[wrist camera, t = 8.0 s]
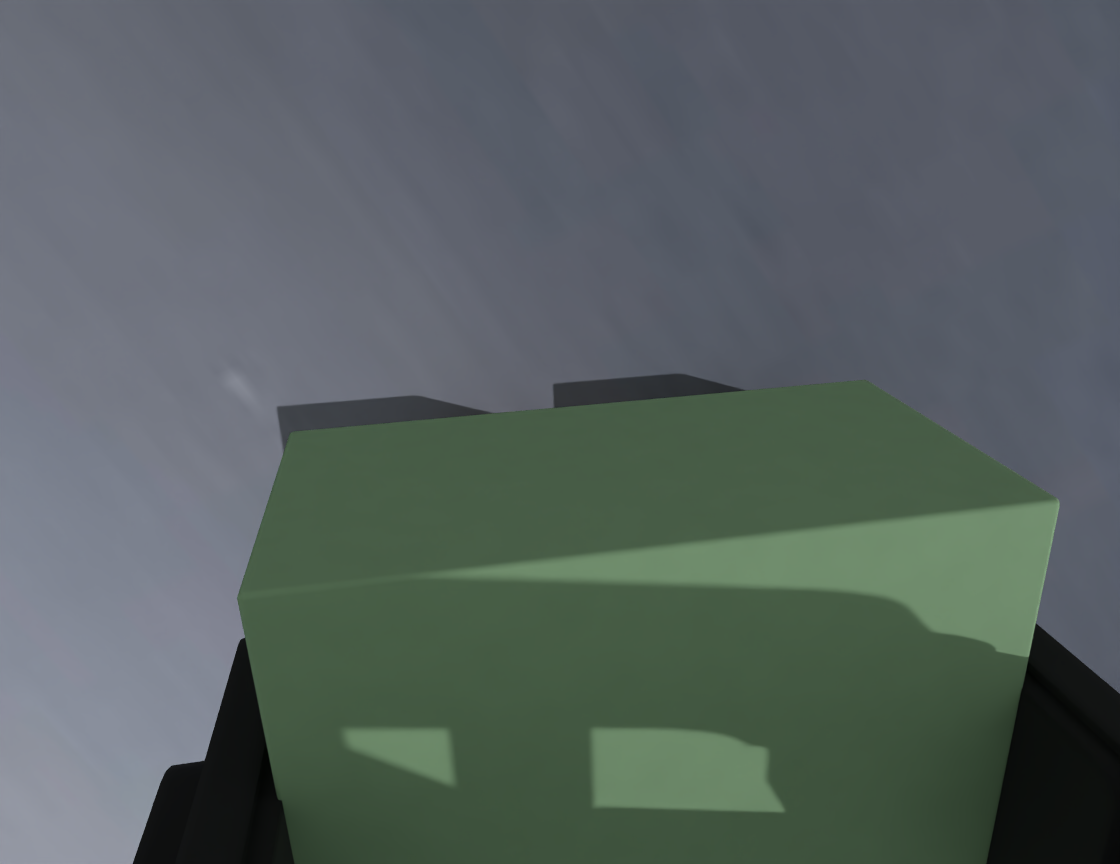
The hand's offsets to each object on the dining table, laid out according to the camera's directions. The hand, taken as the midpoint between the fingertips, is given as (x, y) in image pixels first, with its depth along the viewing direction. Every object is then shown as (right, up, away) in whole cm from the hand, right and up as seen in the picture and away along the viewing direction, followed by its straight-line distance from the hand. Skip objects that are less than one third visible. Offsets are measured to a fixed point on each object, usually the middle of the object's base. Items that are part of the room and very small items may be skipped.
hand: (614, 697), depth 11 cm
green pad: (0, -1, +1) cm, 2 cm away
